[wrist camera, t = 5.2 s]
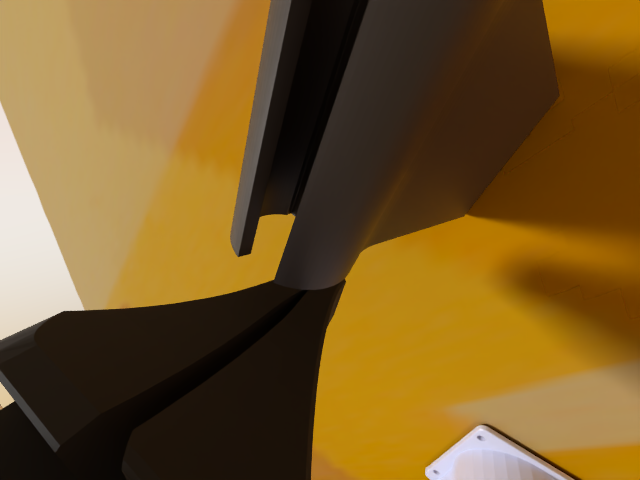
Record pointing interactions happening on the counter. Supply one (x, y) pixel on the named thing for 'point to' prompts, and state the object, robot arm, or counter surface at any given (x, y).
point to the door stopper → (384, 120)
